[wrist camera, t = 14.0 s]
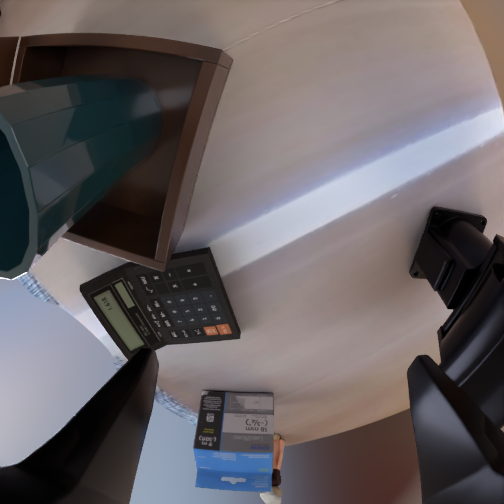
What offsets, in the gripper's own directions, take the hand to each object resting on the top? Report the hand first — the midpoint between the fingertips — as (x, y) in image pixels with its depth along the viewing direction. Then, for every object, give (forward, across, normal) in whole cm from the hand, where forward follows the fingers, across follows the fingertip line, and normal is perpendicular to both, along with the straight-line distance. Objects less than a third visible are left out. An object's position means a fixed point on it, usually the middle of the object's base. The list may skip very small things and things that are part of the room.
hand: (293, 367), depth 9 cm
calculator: (+13, +9, +10) cm, 19 cm away
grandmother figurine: (+13, -4, +40) cm, 42 cm away
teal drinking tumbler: (+12, +11, -6) cm, 17 cm away
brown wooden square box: (+13, +11, -5) cm, 18 cm away
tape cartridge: (+13, +2, +26) cm, 29 cm away
